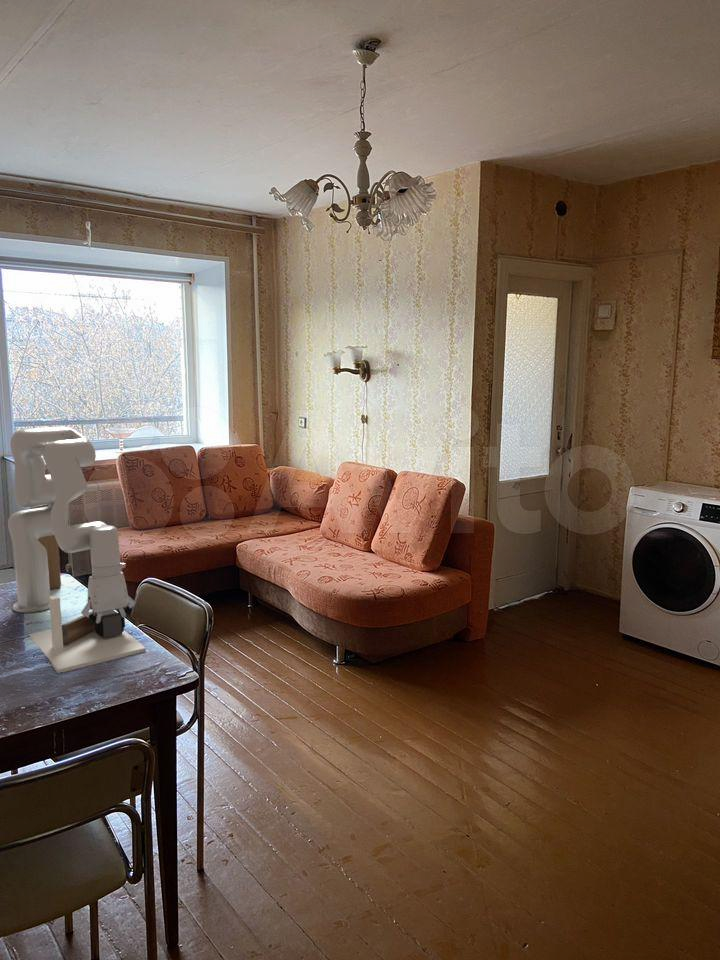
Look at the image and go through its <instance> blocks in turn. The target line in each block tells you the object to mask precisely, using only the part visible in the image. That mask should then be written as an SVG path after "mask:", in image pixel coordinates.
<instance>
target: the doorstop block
mask: <svg viewBox="0 0 720 960" xmlns="http://www.w3.org/2000/svg"><path fill="white" fill-rule="evenodd" d="M101 622H102V624H103V636H102V637H104V638H107V637H112V636H116V635H120V634H122V623H121V615H120V614H119V613H118V611H115V610H111V611H106V612H102V616H101ZM94 623H95V622H94Z"/></svg>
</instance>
